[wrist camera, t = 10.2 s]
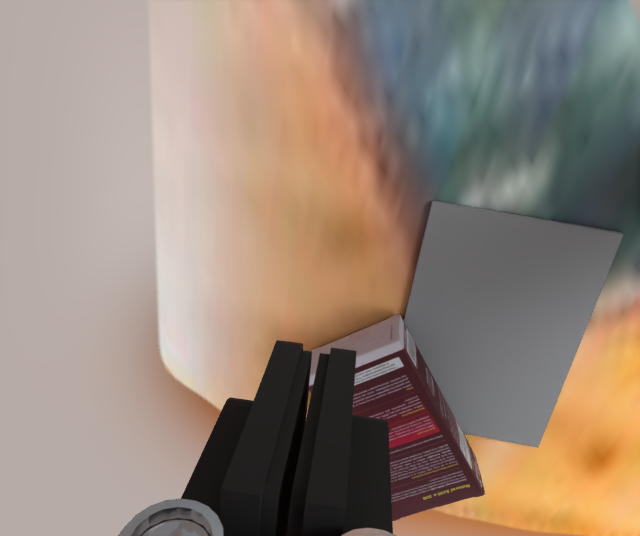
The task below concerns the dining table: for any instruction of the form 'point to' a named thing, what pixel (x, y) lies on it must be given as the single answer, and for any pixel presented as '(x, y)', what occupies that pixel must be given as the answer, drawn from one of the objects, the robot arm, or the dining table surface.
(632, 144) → the dining table surface
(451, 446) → the supplement box
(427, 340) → the mat
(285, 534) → the robot arm
